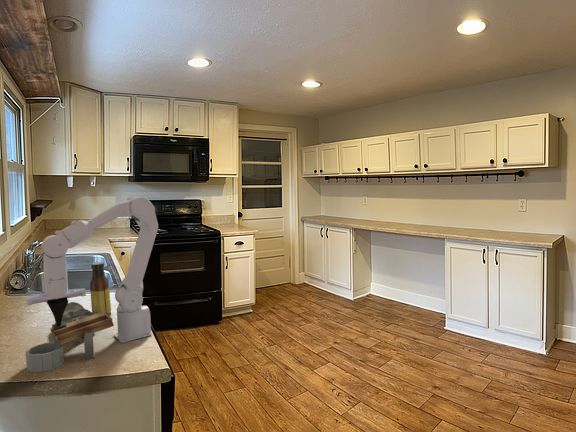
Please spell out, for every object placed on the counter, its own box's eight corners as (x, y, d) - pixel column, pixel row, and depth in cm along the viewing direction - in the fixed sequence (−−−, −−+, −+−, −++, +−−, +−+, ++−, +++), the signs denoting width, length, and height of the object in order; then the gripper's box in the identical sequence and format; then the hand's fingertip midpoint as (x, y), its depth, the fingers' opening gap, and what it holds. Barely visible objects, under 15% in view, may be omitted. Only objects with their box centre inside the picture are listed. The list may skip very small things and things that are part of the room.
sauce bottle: (106, 312, 147) (103, 260, 145) (114, 316, 143) (112, 262, 142) (88, 317, 142) (85, 263, 140) (96, 321, 138) (93, 265, 136)
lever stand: (80, 341, 121) (79, 317, 120) (94, 359, 109) (92, 332, 108) (73, 343, 120) (71, 318, 119) (86, 361, 108) (84, 334, 107)
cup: (59, 355, 112) (58, 339, 111) (65, 365, 105) (64, 349, 105) (25, 364, 106) (24, 347, 106) (29, 375, 100) (28, 358, 100)
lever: (101, 315, 123) (100, 308, 123) (114, 326, 113) (112, 319, 113) (50, 331, 114) (49, 324, 114) (59, 345, 105) (57, 337, 104)
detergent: (103, 335, 126) (94, 311, 147) (100, 313, 125) (91, 293, 146) (55, 347, 119) (53, 321, 141) (52, 325, 118) (50, 302, 140)
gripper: (80, 271, 120) (82, 315, 121) (23, 279, 110) (26, 326, 111) (86, 276, 114) (88, 321, 115) (26, 284, 105) (29, 334, 106)
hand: (58, 324), depth 113 cm, fingers closed, pressing on lever
